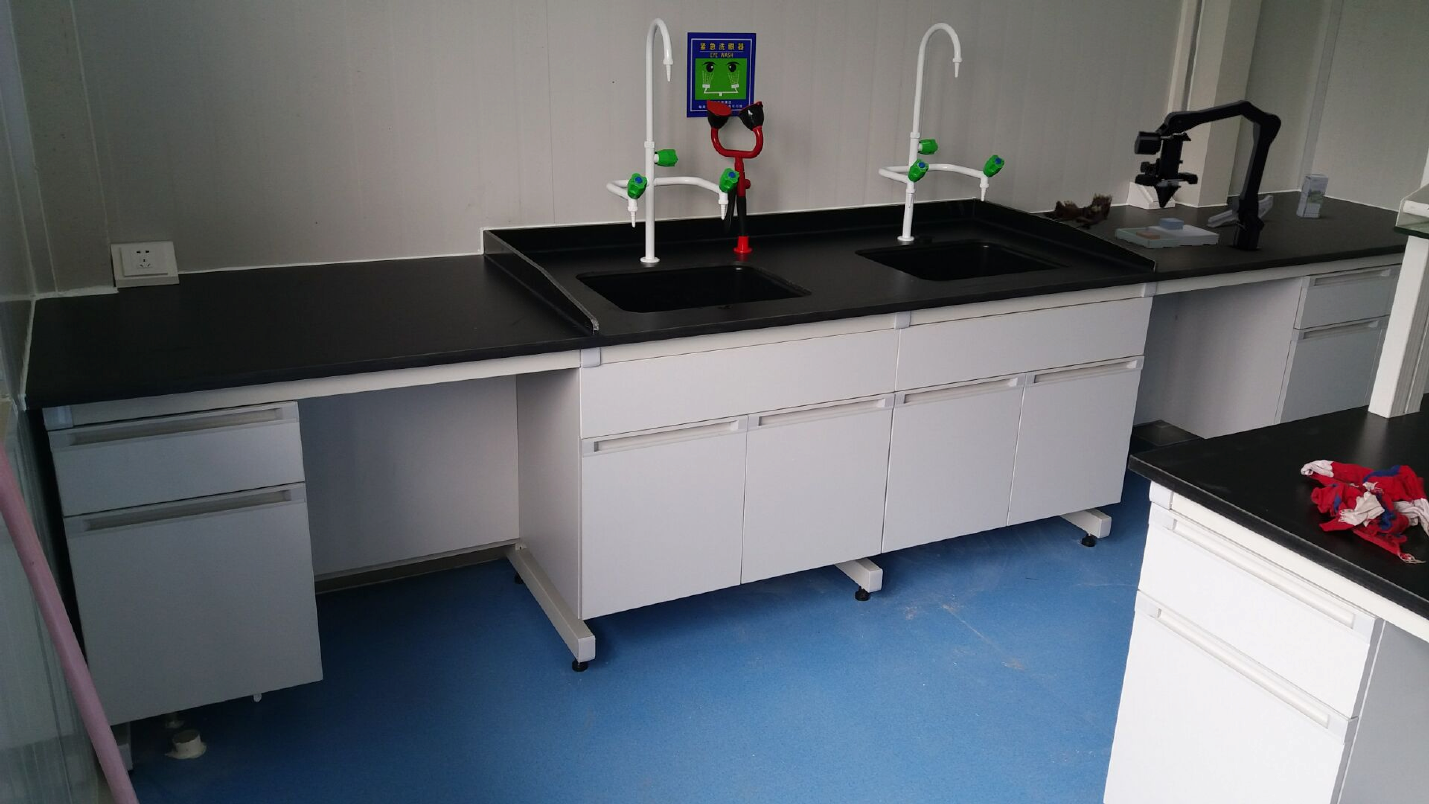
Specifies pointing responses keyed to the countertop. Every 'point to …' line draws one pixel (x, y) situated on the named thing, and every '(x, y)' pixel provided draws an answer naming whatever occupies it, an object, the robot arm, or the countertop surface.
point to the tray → (1131, 236)
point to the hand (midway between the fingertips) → (1161, 207)
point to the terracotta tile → (1148, 235)
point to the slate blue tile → (1171, 224)
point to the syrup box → (1312, 195)
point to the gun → (1263, 206)
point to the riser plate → (1187, 235)
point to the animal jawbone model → (1083, 211)
